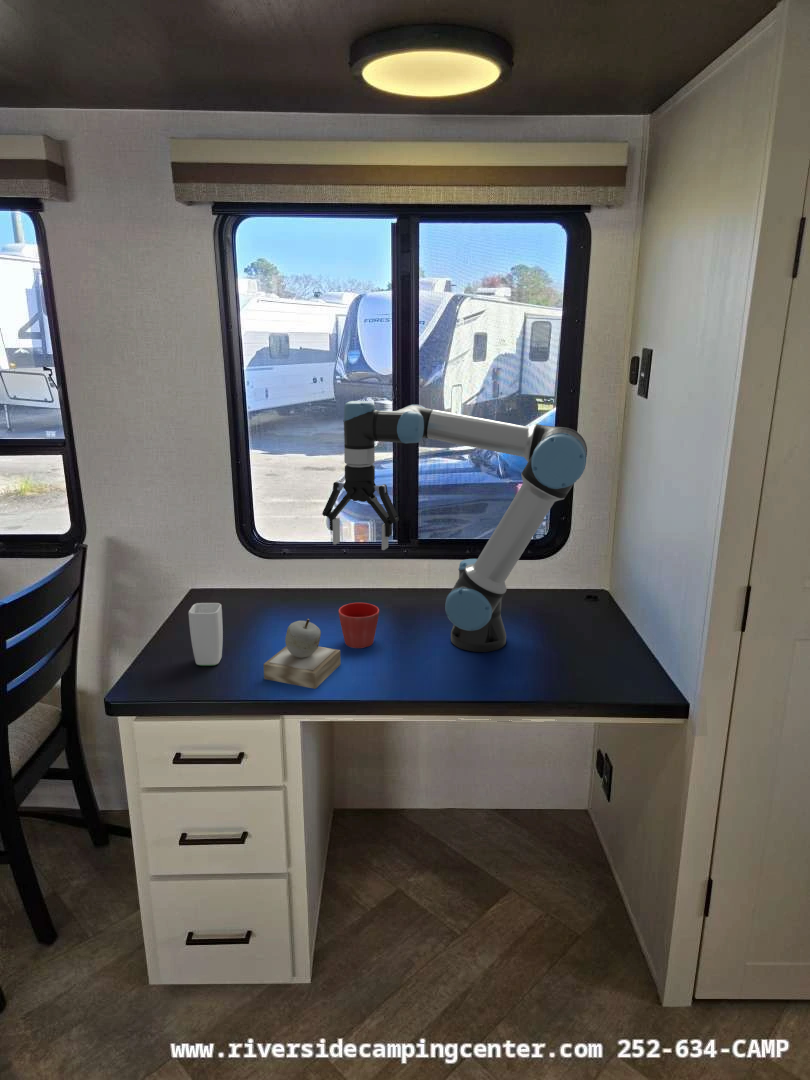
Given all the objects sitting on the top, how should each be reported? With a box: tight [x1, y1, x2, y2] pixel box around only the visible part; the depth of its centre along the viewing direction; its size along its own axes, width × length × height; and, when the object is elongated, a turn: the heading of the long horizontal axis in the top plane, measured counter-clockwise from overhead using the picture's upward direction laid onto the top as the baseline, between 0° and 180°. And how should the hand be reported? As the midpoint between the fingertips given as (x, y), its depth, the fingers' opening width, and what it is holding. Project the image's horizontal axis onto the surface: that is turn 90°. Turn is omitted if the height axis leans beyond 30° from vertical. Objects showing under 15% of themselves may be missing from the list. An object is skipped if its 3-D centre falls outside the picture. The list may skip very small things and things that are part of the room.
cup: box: [188, 602, 224, 667], centre depth 186 cm, size 7×7×15 cm
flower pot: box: [338, 602, 380, 649], centre depth 199 cm, size 11×11×10 cm
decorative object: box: [284, 618, 322, 658], centre depth 181 cm, size 9×9×10 cm
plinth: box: [263, 645, 342, 690], centre depth 183 cm, size 14×14×4 cm
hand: (360, 545), depth 189 cm, fingers open, 13 cm apart
